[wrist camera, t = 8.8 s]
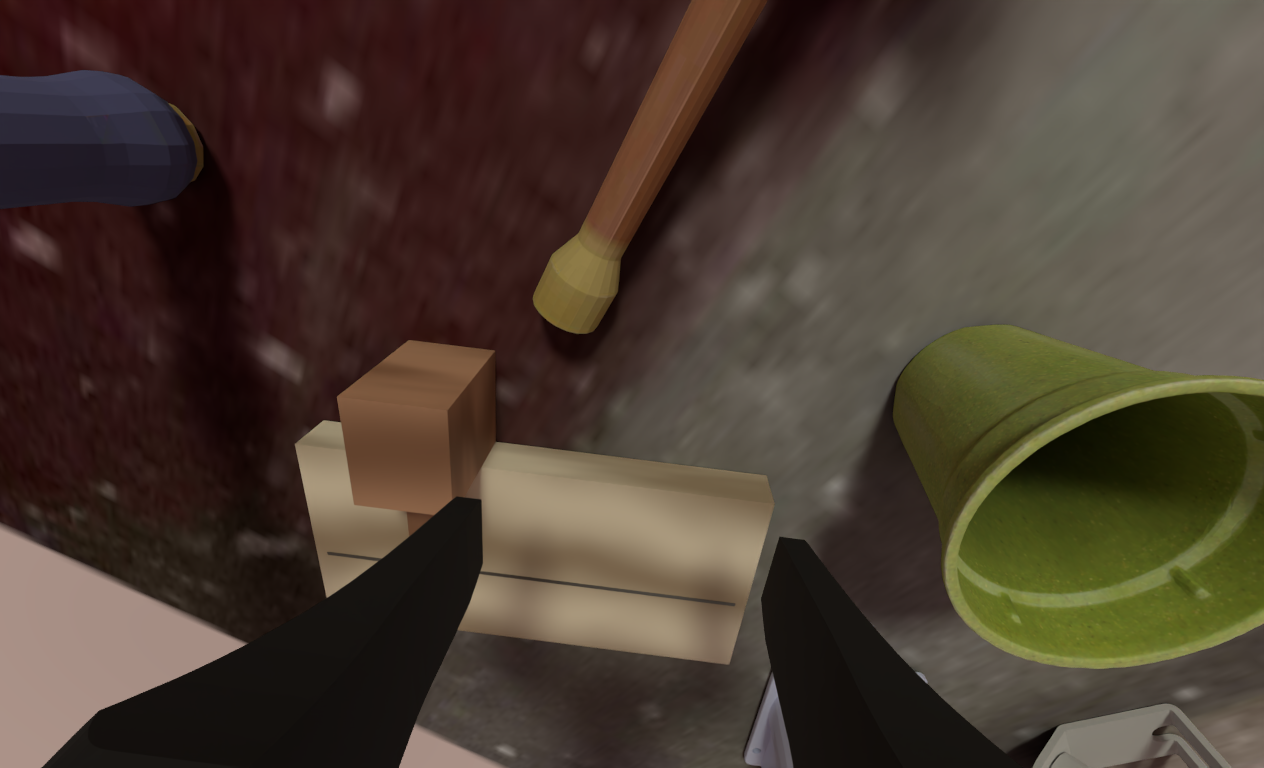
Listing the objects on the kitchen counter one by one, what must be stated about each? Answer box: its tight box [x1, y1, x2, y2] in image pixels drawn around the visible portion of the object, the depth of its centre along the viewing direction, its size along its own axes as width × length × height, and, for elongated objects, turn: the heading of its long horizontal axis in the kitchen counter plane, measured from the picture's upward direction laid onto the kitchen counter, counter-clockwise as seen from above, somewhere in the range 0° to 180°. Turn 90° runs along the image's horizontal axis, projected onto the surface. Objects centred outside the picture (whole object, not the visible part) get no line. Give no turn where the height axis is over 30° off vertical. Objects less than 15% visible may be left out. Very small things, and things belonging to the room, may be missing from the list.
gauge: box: [337, 340, 496, 536], centre depth 22 cm, size 11×4×5 cm, turn 174°
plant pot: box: [893, 325, 1264, 669], centre depth 17 cm, size 9×9×9 cm
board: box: [295, 420, 775, 665], centre depth 24 cm, size 10×20×2 cm, turn 84°
